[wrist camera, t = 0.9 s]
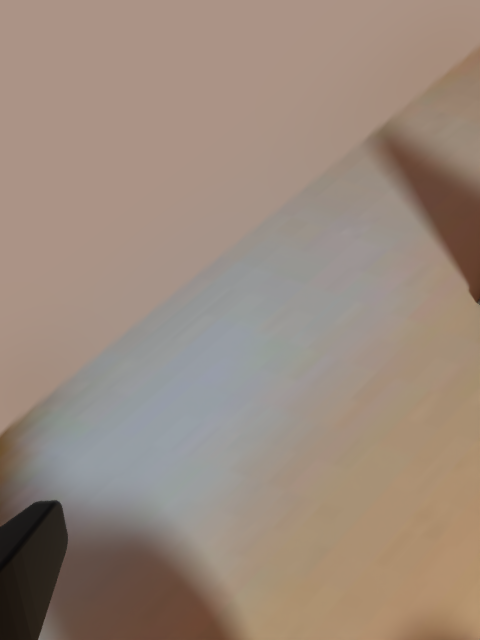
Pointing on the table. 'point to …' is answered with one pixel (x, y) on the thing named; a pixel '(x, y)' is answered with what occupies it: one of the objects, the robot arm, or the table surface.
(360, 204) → the table surface
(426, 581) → the table surface
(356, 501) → the table surface
